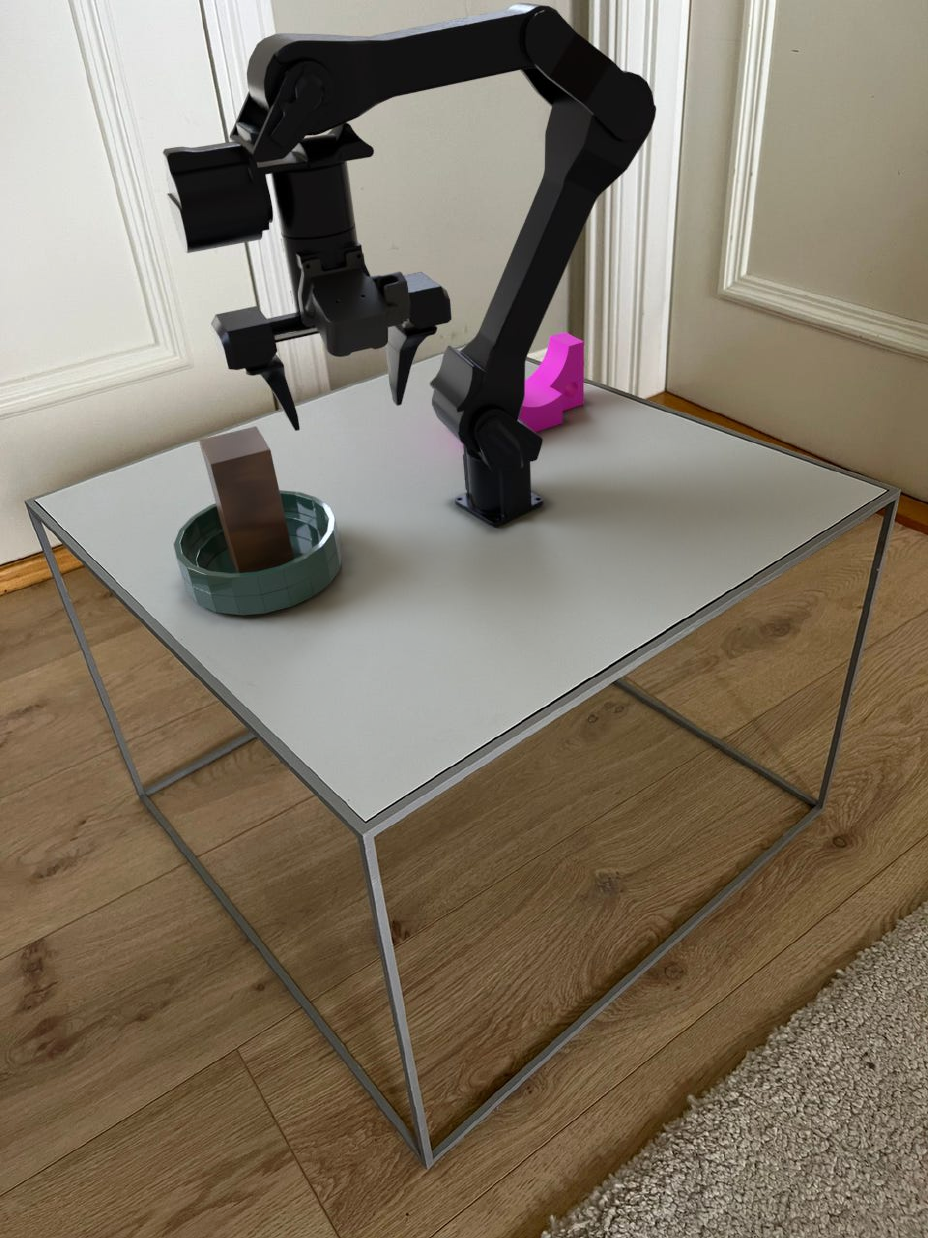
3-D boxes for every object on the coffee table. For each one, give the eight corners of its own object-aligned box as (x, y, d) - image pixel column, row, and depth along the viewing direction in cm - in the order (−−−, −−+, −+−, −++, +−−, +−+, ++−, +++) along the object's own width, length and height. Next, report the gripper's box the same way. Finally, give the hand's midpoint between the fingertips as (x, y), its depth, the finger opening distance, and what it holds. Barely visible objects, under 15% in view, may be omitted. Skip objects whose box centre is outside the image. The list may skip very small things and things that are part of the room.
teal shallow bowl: (371, 573, 85) (365, 531, 83) (230, 641, 79) (218, 598, 76) (293, 514, 95) (285, 474, 92) (161, 570, 88) (148, 529, 85)
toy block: (483, 449, 103) (479, 384, 98) (455, 428, 107) (450, 365, 102) (596, 411, 108) (597, 348, 103) (565, 393, 112) (564, 331, 108)
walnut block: (283, 547, 89) (256, 425, 81) (297, 573, 85) (270, 449, 78) (231, 561, 88) (198, 439, 80) (243, 589, 84) (210, 464, 76)
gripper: (218, 280, 63) (264, 484, 73) (472, 230, 69) (484, 426, 78) (189, 240, 72) (233, 428, 81) (417, 198, 77) (434, 379, 86)
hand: (347, 416), depth 82 cm, fingers open, 9 cm apart
